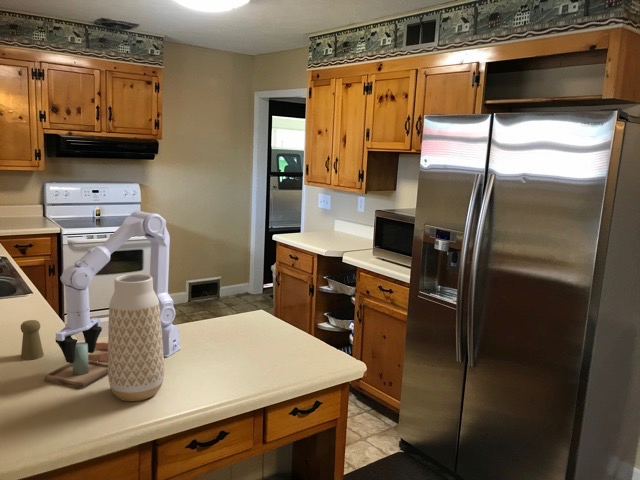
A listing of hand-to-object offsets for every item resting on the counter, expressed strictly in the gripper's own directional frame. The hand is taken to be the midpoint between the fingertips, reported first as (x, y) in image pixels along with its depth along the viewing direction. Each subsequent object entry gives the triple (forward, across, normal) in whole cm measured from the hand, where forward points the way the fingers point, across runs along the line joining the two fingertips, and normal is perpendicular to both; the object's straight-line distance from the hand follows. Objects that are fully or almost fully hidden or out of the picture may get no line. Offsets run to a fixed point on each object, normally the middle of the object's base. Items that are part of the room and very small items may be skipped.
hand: (80, 357), depth 149 cm
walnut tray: (+5, 0, 0) cm, 5 cm away
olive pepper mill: (+6, -6, -23) cm, 24 cm away
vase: (+6, +4, +21) cm, 22 cm away
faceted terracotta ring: (+5, -14, -6) cm, 16 cm away
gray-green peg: (+4, 0, 0) cm, 4 cm away
